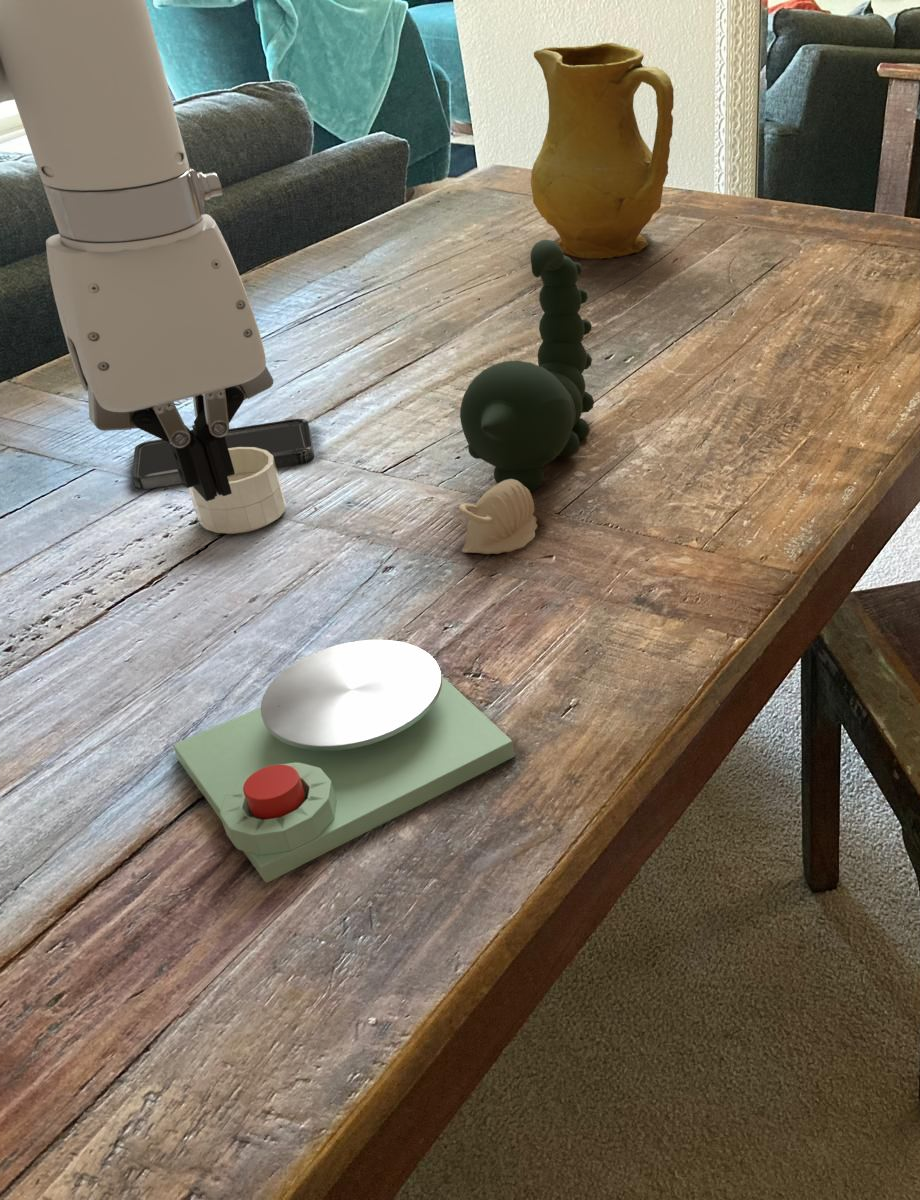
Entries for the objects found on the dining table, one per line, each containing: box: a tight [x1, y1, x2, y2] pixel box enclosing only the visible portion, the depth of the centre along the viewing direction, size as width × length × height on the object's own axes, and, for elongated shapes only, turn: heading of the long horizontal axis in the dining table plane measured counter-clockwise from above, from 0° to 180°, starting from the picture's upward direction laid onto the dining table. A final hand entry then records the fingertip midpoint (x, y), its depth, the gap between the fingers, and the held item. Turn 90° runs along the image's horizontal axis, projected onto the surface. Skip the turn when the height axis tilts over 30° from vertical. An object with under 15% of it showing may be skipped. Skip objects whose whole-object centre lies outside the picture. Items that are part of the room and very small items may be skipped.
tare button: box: [243, 765, 305, 819], centre depth 68 cm, size 3×3×2 cm
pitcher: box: [530, 42, 675, 260], centre depth 156 cm, size 17×19×25 cm
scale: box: [172, 675, 516, 884], centre depth 75 cm, size 16×14×3 cm
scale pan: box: [260, 639, 443, 751], centre depth 76 cm, size 11×11×1 cm
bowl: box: [187, 447, 287, 535], centre depth 100 cm, size 7×7×5 cm
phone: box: [131, 418, 315, 490], centre depth 110 cm, size 8×1×15 cm
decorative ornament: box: [458, 479, 538, 555], centre depth 96 cm, size 4×8×5 cm, turn 150°
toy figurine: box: [459, 239, 595, 492], centre depth 106 cm, size 9×19×25 cm
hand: (211, 489), depth 79 cm, fingers closed
